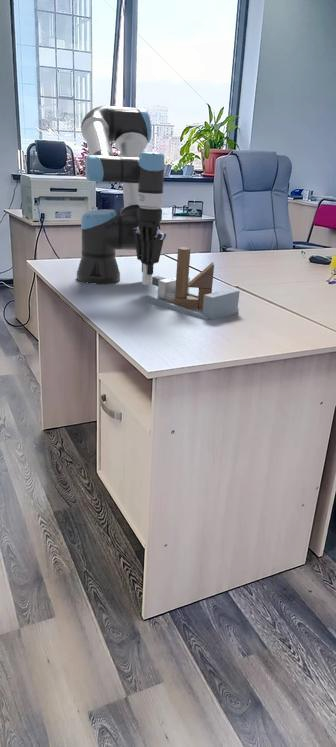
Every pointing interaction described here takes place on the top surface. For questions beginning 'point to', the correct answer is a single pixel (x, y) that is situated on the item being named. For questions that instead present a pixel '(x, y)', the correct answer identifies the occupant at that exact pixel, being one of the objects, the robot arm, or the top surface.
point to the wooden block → (191, 282)
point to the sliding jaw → (166, 288)
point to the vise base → (208, 304)
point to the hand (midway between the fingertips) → (146, 283)
